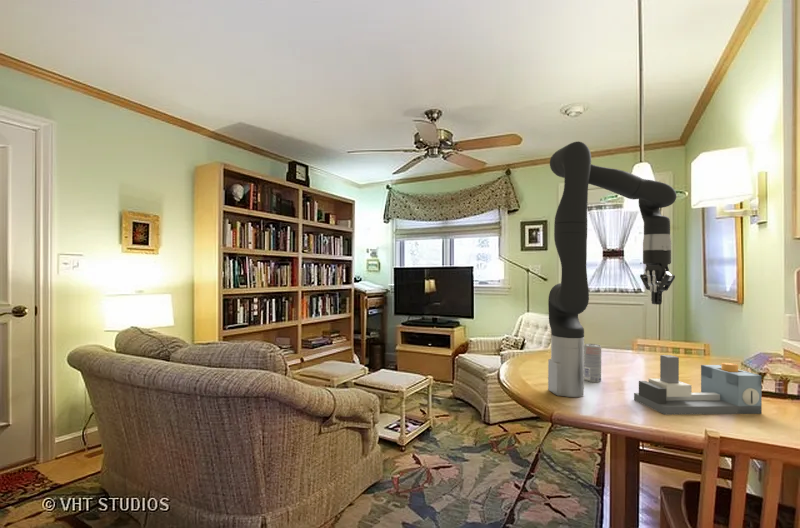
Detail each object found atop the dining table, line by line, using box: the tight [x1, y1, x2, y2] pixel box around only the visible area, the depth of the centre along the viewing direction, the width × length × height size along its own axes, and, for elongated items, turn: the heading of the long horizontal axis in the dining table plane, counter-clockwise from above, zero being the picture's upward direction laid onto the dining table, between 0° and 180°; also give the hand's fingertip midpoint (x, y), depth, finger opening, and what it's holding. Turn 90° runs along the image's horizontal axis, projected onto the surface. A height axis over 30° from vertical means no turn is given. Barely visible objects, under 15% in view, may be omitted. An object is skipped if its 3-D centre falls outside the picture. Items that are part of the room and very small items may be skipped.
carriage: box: [648, 354, 693, 397], centre depth 111 cm, size 7×7×10 cm
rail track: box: [633, 364, 763, 416], centre depth 111 cm, size 27×12×10 cm, turn 94°
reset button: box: [720, 362, 739, 372], centre depth 112 cm, size 4×4×4 cm
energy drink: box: [584, 343, 602, 383], centre depth 137 cm, size 5×5×12 cm
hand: (656, 304), depth 127 cm, fingers closed
